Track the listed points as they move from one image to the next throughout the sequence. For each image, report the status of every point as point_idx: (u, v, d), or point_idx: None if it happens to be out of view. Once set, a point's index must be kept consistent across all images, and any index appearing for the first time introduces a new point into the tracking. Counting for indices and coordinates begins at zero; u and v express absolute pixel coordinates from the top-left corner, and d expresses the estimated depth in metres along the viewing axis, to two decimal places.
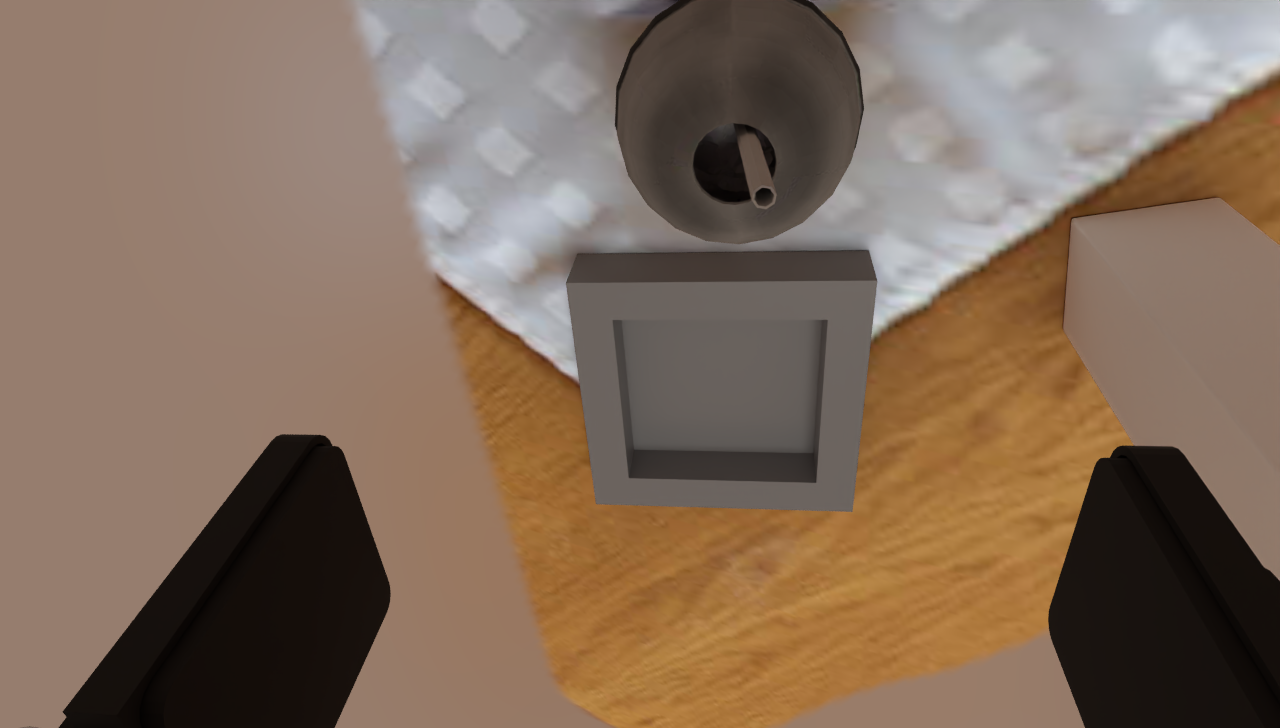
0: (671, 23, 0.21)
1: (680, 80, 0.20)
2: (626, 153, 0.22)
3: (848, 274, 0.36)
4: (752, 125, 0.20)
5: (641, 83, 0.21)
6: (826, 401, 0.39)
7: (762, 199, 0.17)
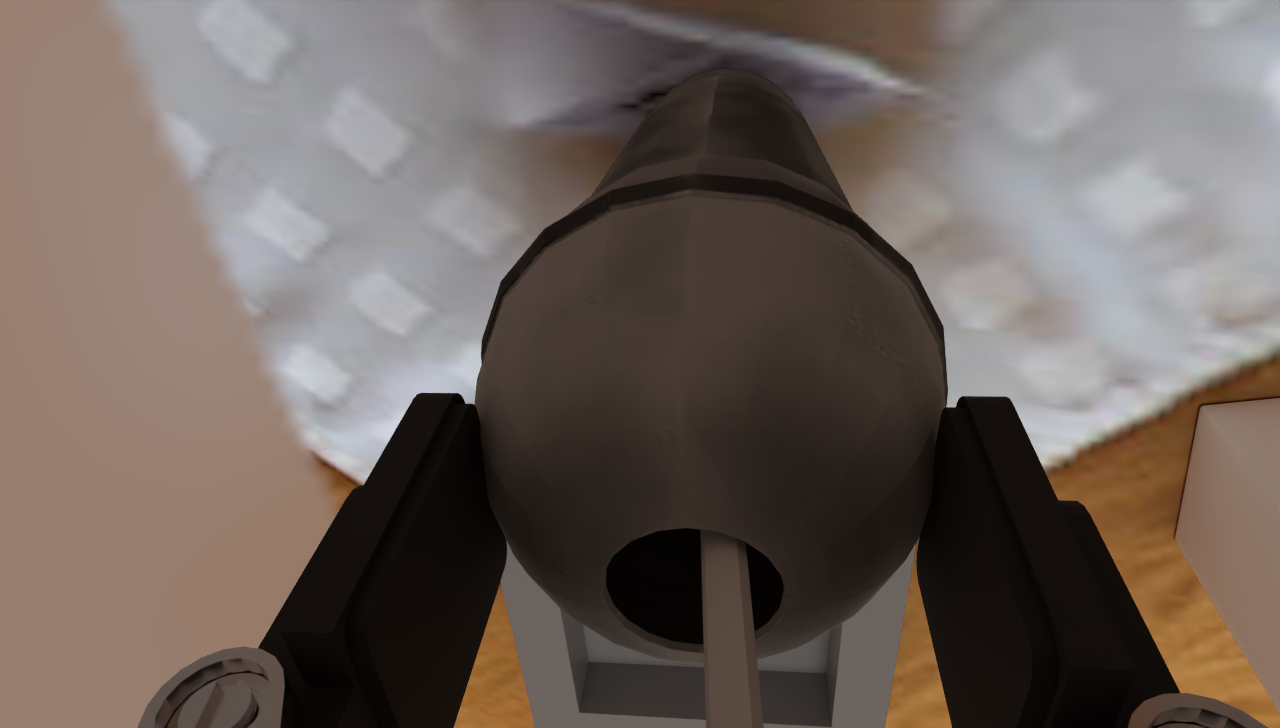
0: (566, 263, 0.10)
1: (575, 414, 0.09)
2: None
3: None
4: (731, 533, 0.09)
5: (502, 391, 0.10)
6: (847, 638, 0.28)
7: None
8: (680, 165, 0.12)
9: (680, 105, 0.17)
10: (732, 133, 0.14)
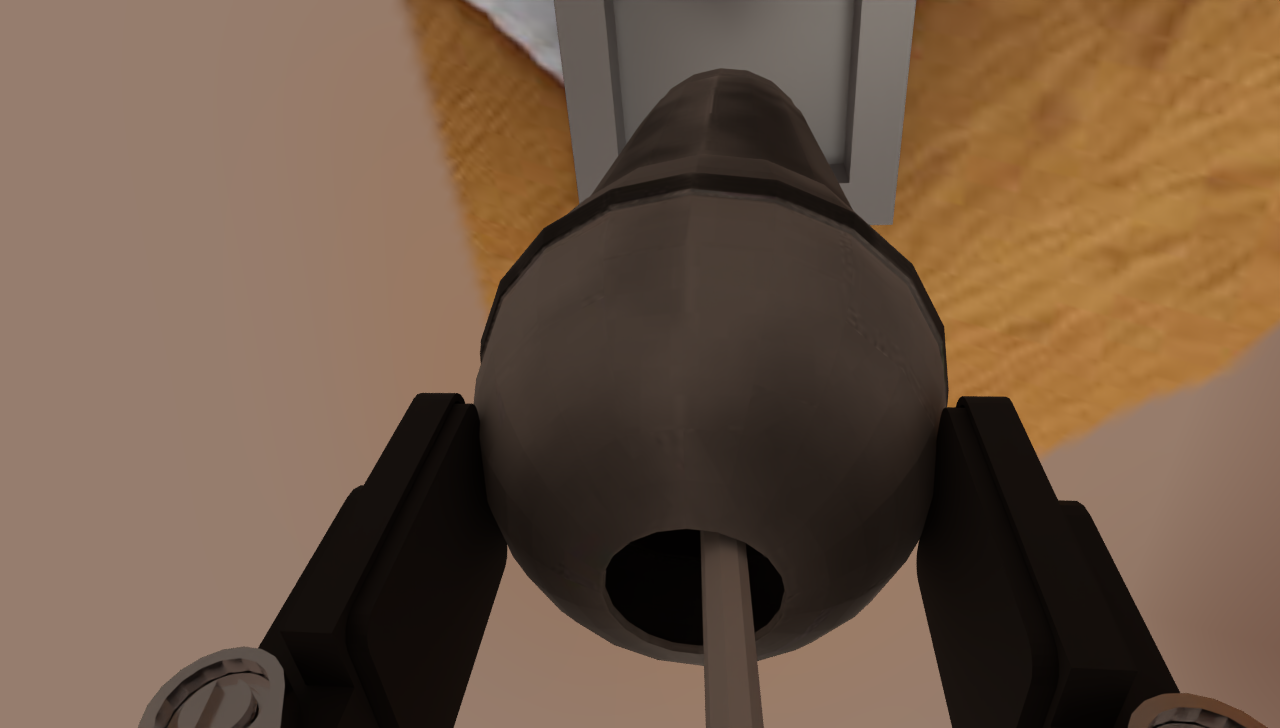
0: (565, 263, 0.10)
1: (574, 414, 0.09)
2: None
3: None
4: (731, 534, 0.09)
5: (501, 391, 0.10)
6: (864, 53, 0.32)
7: None
8: (680, 164, 0.12)
9: (680, 104, 0.17)
10: (732, 132, 0.14)
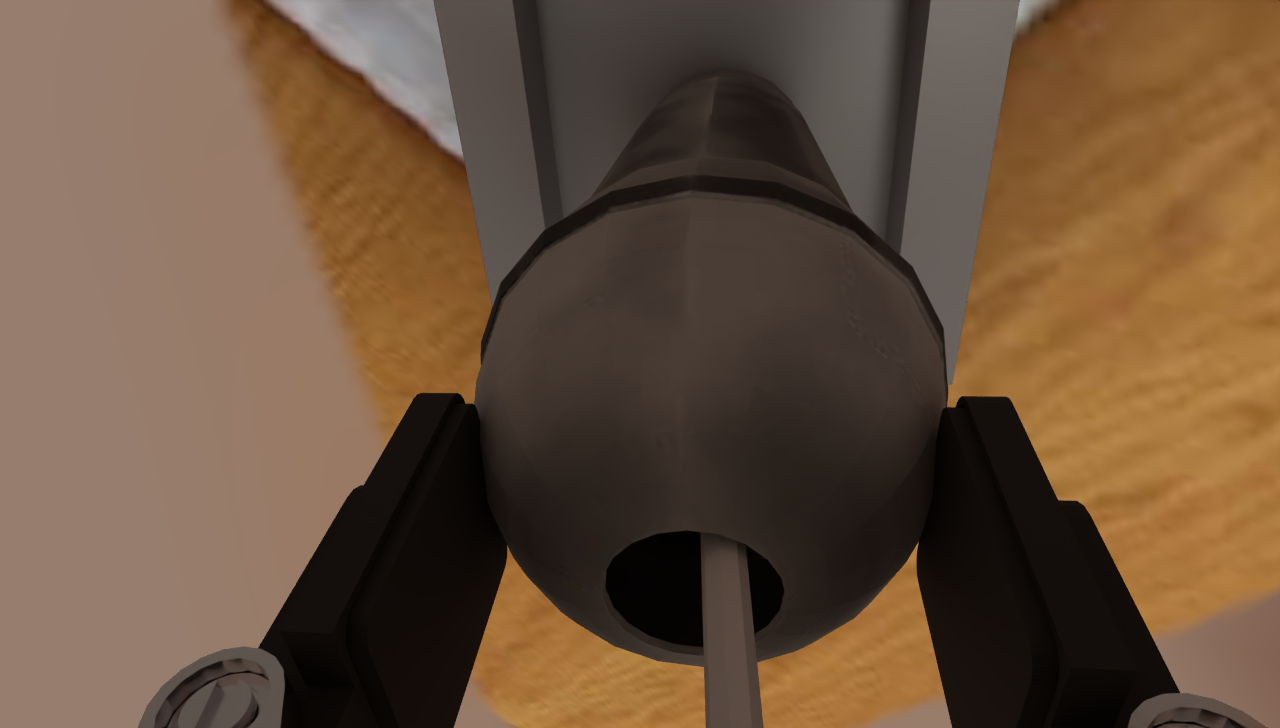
0: (565, 265, 0.10)
1: (575, 415, 0.09)
2: None
3: None
4: (731, 536, 0.09)
5: (501, 393, 0.10)
6: (921, 149, 0.21)
7: None
8: (680, 166, 0.12)
9: (680, 106, 0.17)
10: (732, 134, 0.14)
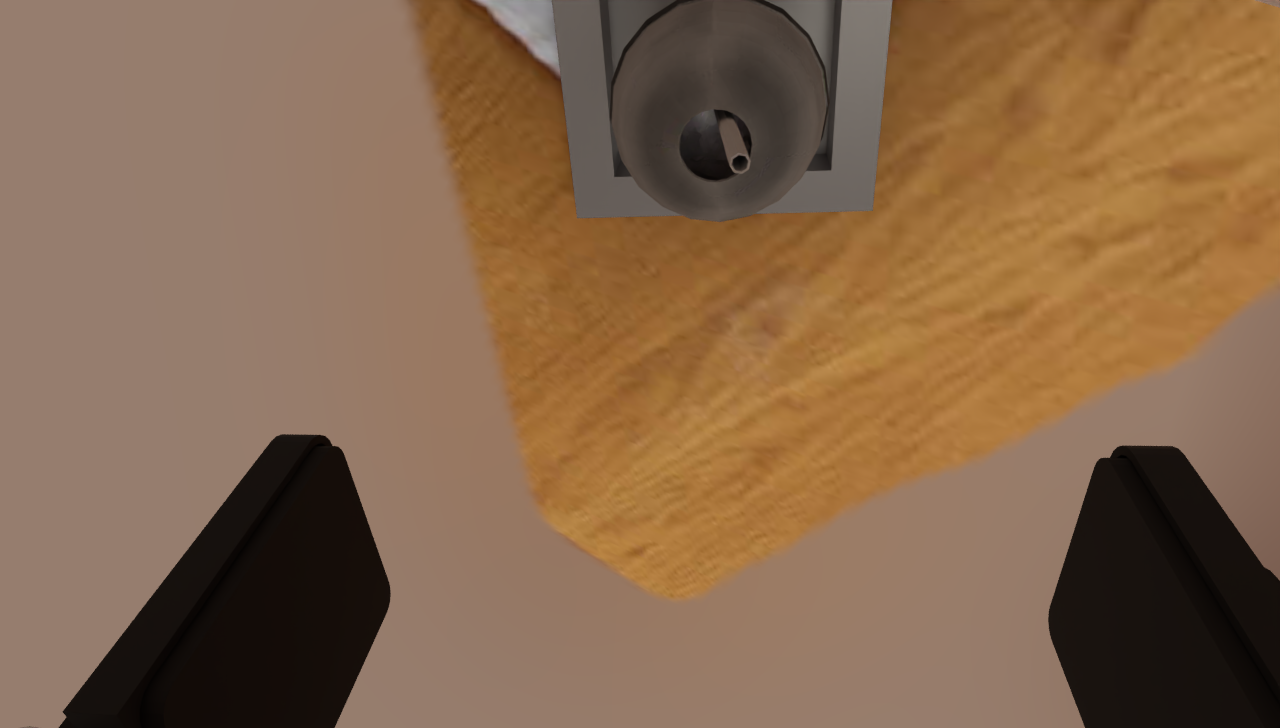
0: (660, 25, 0.24)
1: (668, 72, 0.23)
2: (620, 139, 0.25)
3: None
4: (731, 111, 0.23)
5: (634, 76, 0.24)
6: (844, 45, 0.34)
7: (738, 167, 0.19)
8: None
9: None
10: None
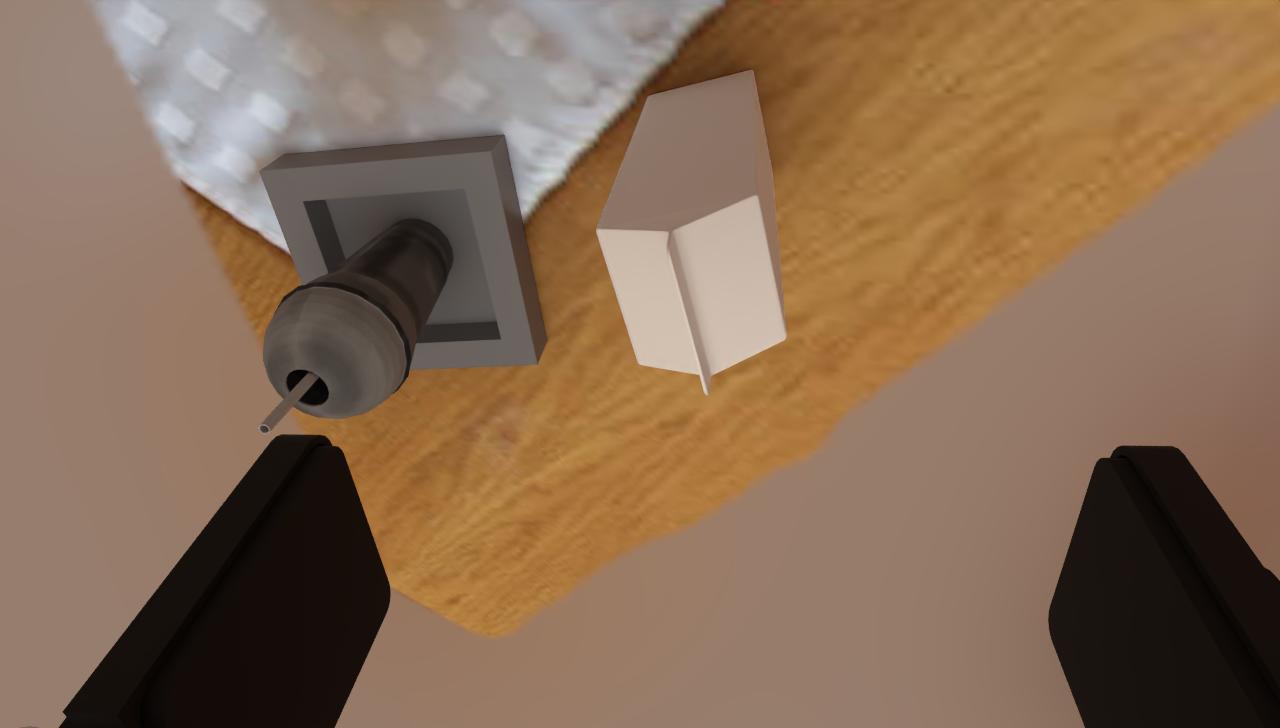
0: (281, 307, 0.39)
1: (276, 344, 0.38)
2: None
3: (473, 149, 0.45)
4: (308, 370, 0.37)
5: (264, 341, 0.39)
6: (486, 262, 0.48)
7: (272, 426, 0.34)
8: (326, 276, 0.41)
9: (368, 243, 0.46)
10: (363, 260, 0.43)
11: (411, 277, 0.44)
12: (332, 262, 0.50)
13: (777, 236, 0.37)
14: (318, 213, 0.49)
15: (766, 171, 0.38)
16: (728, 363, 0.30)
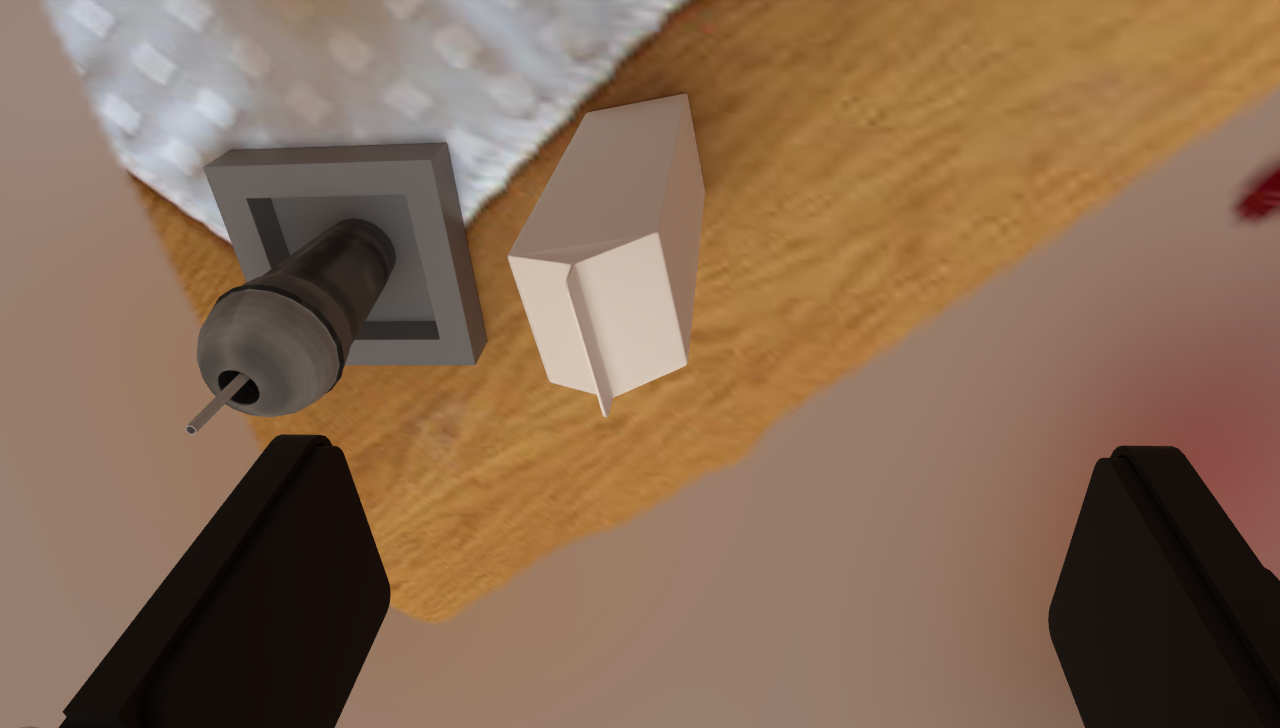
0: (216, 308, 0.40)
1: (209, 344, 0.39)
2: None
3: (414, 156, 0.46)
4: (239, 371, 0.39)
5: (198, 340, 0.40)
6: (425, 265, 0.49)
7: (199, 427, 0.35)
8: (262, 278, 0.42)
9: (309, 243, 0.47)
10: (301, 261, 0.44)
11: (349, 280, 0.45)
12: (275, 258, 0.51)
13: (695, 260, 0.39)
14: (262, 210, 0.50)
15: (688, 197, 0.39)
16: (630, 386, 0.32)
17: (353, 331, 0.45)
